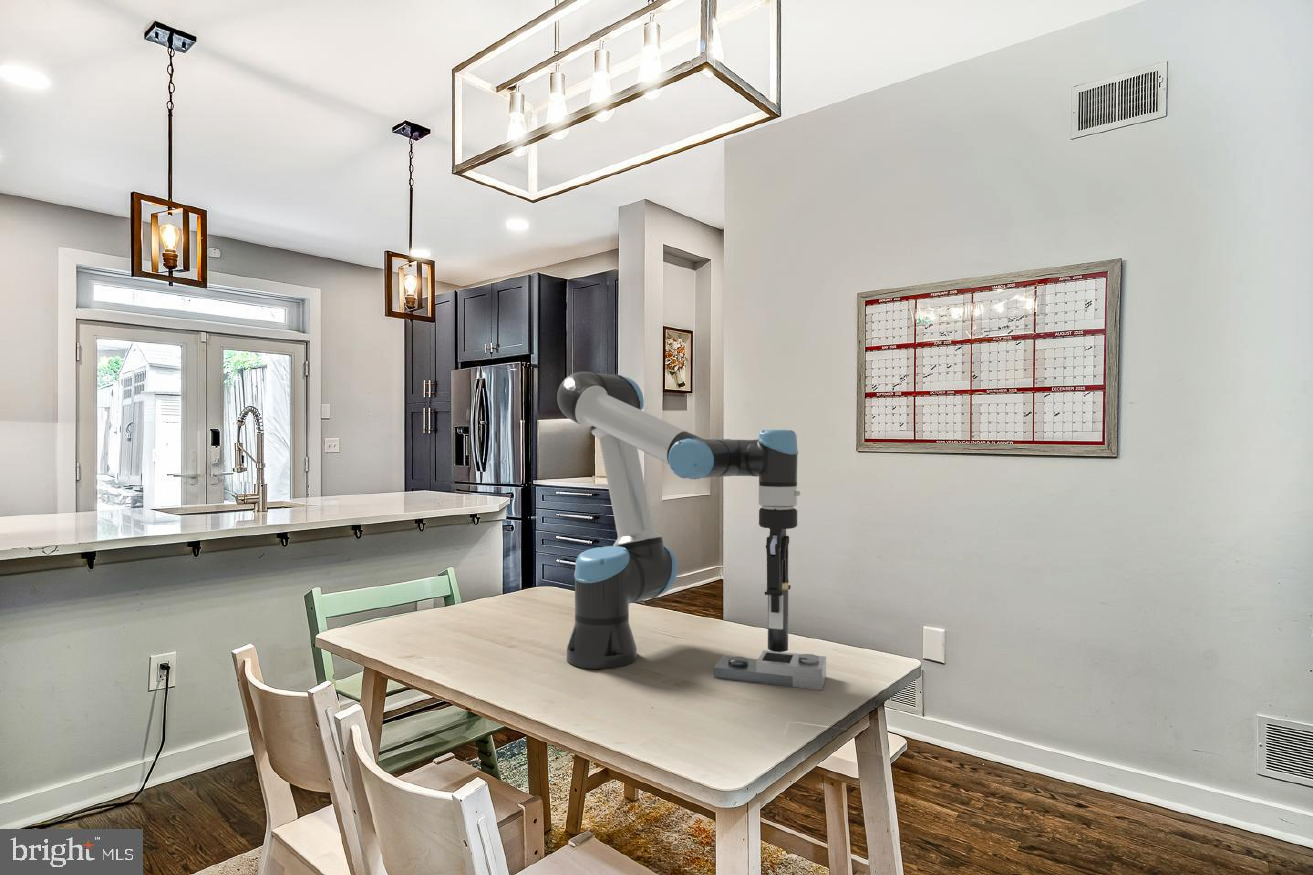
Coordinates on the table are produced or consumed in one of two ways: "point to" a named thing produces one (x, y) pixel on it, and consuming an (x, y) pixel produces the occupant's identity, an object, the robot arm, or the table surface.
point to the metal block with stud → (775, 669)
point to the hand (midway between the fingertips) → (777, 624)
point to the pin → (780, 636)
